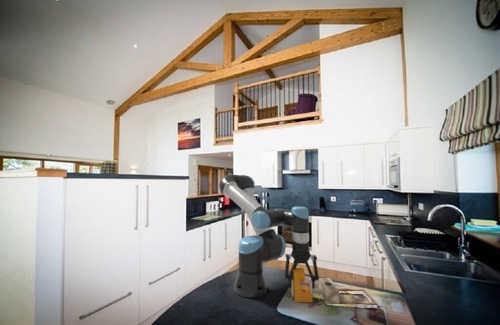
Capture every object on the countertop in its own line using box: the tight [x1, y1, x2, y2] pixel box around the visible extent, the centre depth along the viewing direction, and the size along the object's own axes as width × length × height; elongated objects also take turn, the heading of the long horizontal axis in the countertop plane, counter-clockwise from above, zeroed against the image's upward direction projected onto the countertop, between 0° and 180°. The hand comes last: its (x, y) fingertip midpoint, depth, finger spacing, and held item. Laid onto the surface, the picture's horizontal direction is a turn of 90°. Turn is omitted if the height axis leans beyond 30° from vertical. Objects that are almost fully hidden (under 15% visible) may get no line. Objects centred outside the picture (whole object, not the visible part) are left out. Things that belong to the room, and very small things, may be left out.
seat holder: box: [318, 277, 379, 306], centre depth 89 cm, size 20×12×6 cm, turn 85°
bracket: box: [292, 267, 313, 303], centre depth 91 cm, size 11×7×12 cm, turn 177°
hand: (301, 295), depth 90 cm, fingers closed on bracket, 7 cm apart
